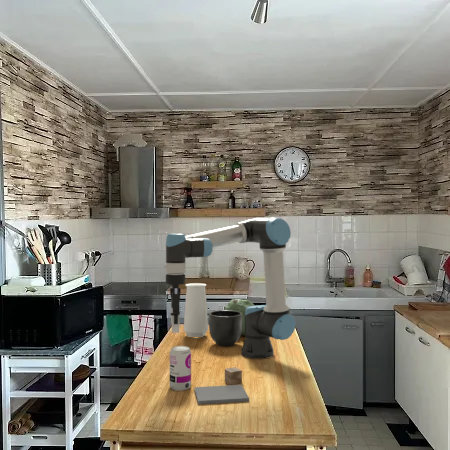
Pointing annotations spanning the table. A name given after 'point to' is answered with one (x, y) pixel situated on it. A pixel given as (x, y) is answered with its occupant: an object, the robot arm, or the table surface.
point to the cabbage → (239, 309)
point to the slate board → (221, 394)
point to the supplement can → (180, 368)
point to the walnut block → (233, 376)
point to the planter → (225, 327)
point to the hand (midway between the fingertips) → (175, 328)
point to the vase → (195, 310)
